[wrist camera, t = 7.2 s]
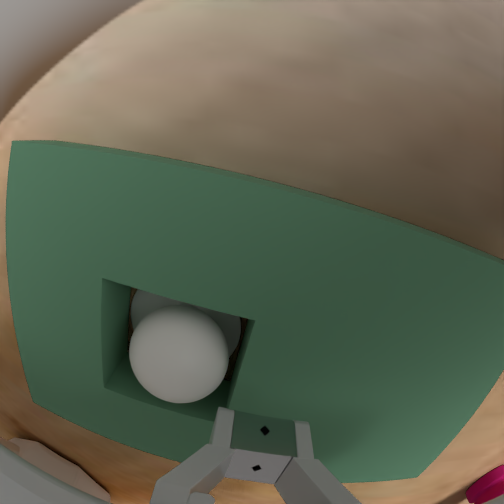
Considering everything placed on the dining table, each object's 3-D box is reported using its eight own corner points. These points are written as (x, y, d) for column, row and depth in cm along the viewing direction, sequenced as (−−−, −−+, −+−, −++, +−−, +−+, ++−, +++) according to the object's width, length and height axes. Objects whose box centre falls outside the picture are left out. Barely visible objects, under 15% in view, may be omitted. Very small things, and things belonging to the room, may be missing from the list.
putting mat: (54, 140, 11) (12, 140, 8) (511, 263, 12) (545, 283, 9) (56, 373, 15) (33, 401, 12) (405, 446, 16) (417, 477, 13)
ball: (156, 277, 13) (111, 321, 9) (245, 304, 13) (229, 361, 9) (148, 349, 14) (113, 401, 10) (225, 374, 14) (208, 435, 10)
